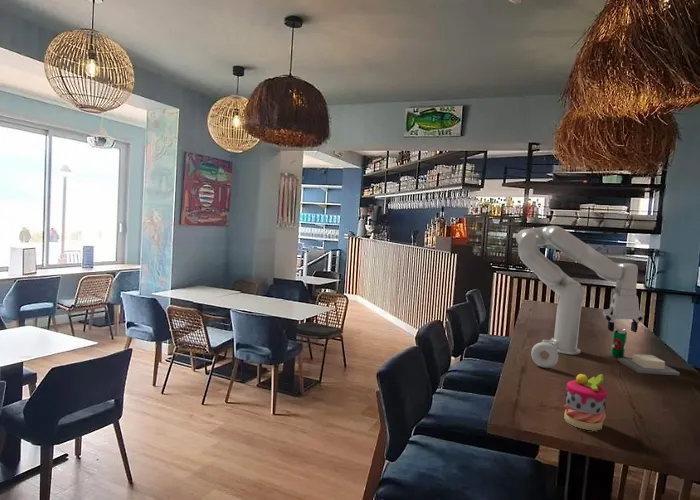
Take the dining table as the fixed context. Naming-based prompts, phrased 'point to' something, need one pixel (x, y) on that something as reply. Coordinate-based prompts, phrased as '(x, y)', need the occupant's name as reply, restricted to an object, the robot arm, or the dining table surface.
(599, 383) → the cake
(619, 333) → the soda can
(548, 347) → the donut
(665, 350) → the dining table surface
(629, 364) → the build base
